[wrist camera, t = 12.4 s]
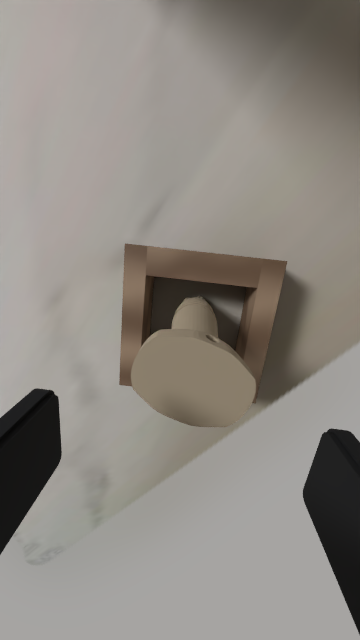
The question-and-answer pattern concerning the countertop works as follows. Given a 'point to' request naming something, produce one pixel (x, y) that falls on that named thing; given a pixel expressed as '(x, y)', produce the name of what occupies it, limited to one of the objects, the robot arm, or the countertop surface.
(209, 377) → the handle
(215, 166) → the countertop surface
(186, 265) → the square frame
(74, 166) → the countertop surface
